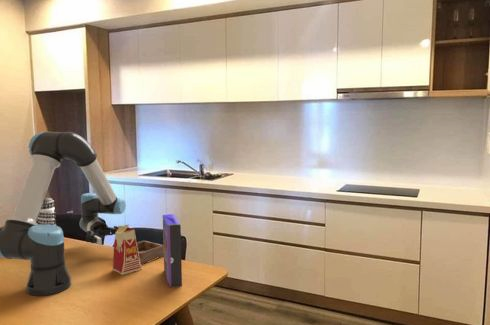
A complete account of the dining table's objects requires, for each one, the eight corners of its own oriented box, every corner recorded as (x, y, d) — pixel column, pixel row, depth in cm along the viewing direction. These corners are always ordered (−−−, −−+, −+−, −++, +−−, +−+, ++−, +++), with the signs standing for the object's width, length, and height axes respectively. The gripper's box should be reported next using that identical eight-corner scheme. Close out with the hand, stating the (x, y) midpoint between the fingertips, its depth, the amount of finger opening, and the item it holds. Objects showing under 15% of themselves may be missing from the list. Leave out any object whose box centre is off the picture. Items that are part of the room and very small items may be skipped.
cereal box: (164, 270, 168) (162, 214, 166) (175, 269, 170) (174, 213, 167) (169, 287, 152) (167, 225, 149) (181, 285, 153) (180, 224, 151)
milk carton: (142, 269, 170) (140, 223, 168) (122, 275, 164) (120, 227, 161) (130, 264, 176) (128, 219, 174) (111, 269, 170) (109, 223, 168)
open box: (164, 255, 187) (164, 245, 186) (141, 264, 175) (141, 253, 175) (144, 250, 194) (143, 240, 194) (121, 258, 183) (121, 248, 182)
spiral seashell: (37, 246, 200) (34, 197, 198) (58, 244, 204) (55, 196, 202) (37, 252, 192) (33, 201, 190) (58, 249, 196) (55, 199, 193)
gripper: (122, 231, 201) (142, 241, 185) (71, 241, 184) (87, 253, 168) (122, 216, 200) (142, 225, 184) (70, 225, 183) (86, 236, 168)
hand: (116, 238), depth 176 cm, fingers open, 13 cm apart
